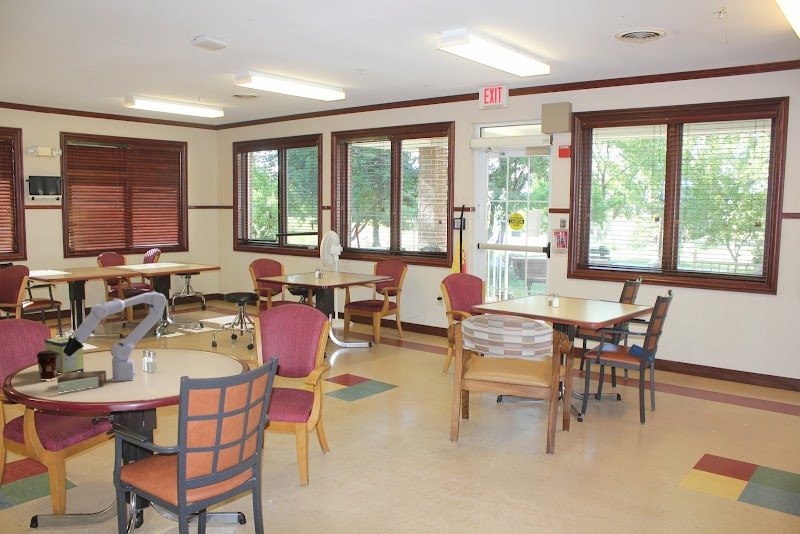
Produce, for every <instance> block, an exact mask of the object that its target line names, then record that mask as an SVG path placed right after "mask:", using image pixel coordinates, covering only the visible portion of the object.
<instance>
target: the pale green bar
mask: <svg viewBox="0 0 800 534" xmlns="http://www.w3.org/2000/svg"><path fill="white" fill-rule="evenodd" d="M98 386H99V378H98V376H97V377H91V378H85V379H79V380H74V381H68V382H62V383H58V382H57V393H58V392H64V391H71V390H77V389H83V388H89V387H95V388H99V387H98Z"/></svg>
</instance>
